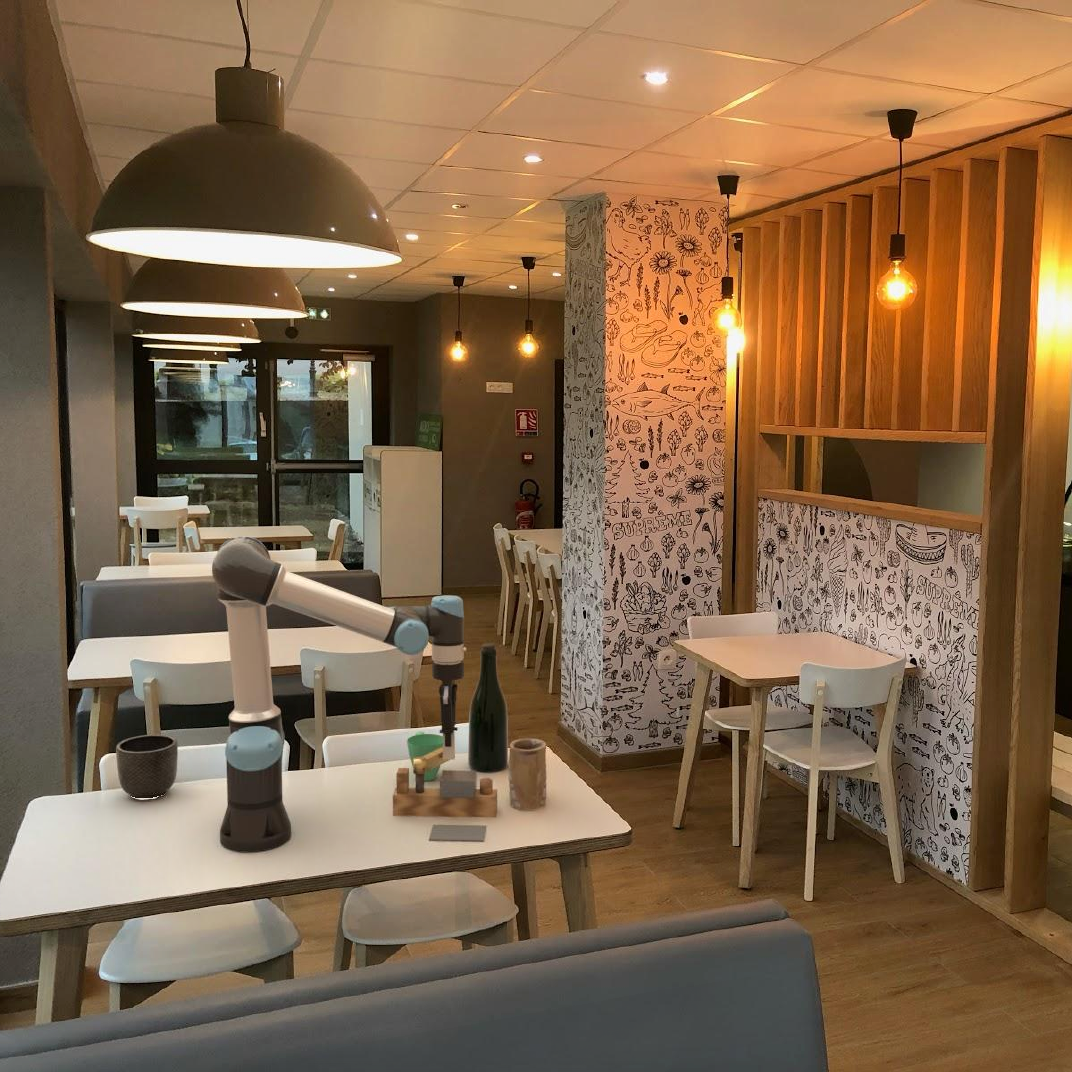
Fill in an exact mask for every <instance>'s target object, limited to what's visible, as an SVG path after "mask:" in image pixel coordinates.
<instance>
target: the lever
mask: <svg viewBox="0 0 1072 1072" xmlns="http://www.w3.org/2000/svg"><path fill="white" fill-rule="evenodd" d="M449 761H450V760H445V759H443V747H441V748H439V749H437V750H435V751H433V752H431V753H429V754H427V755H425V756H423V757H416V758H414V759H413V766H412V772H413V774H414V775H416V774H418V775H420V774H425V773H426V772H427V771H429V770H431V769H433V768H435V767H437V766H439V765H440V766H441V765H443V764H445V763H447V762H449Z"/></svg>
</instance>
